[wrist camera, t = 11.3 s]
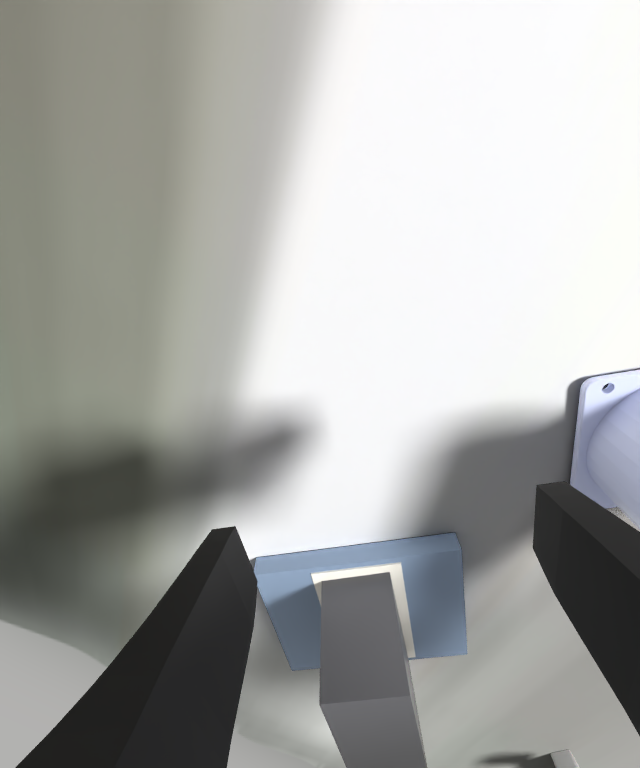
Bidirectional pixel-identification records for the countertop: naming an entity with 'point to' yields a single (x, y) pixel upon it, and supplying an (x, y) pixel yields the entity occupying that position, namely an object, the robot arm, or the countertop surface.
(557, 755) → the lighter
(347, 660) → the block
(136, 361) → the countertop surface
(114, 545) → the countertop surface
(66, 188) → the countertop surface
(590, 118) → the countertop surface
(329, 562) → the header board
